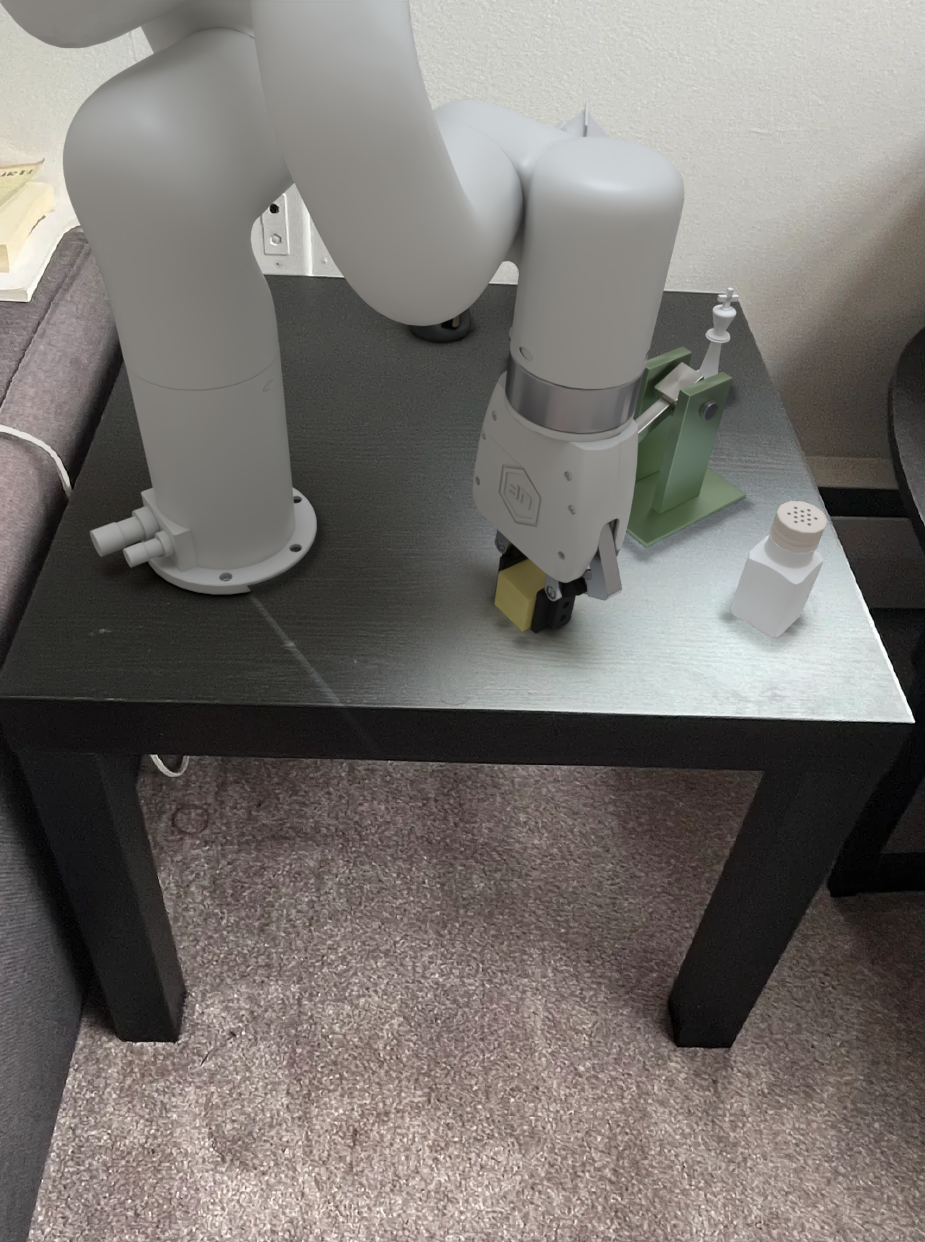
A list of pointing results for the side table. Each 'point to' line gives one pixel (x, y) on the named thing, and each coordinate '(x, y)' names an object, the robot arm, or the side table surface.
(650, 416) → the lever
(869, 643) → the side table surface
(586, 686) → the side table surface
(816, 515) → the pepper shaker
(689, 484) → the green lever stand
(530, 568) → the butter
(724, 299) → the chess piece
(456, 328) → the beer glass
